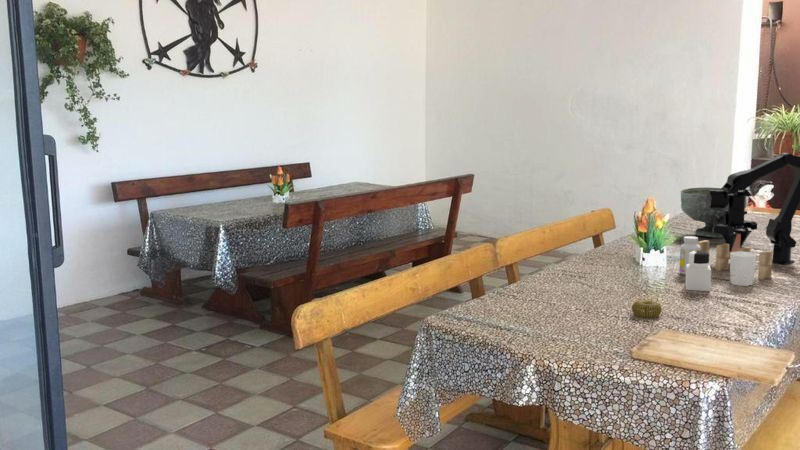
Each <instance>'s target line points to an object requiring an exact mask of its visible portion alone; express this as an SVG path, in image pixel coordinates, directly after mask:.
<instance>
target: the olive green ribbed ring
mask: <svg viewBox="0 0 800 450" xmlns="http://www.w3.org/2000/svg"><path fill="white" fill-rule="evenodd" d="M631 311H632V313H633V314H634V315H635V316H637V317H639V318H643V319H653V318H657V317H658V316H660V315H661V314H662V306H661V304H660V303H658V302H657V301H654V300H650V299H640V300H637V301H635V302H634V303H633V304H632V305H631Z"/></svg>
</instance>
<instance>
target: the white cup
mask: <svg viewBox="0 0 800 450" xmlns="http://www.w3.org/2000/svg"><path fill="white" fill-rule="evenodd" d="M757 256H758V255H757V253H754V252H751V251H750V252H731V253H730V259H729V275H730V277H729V279H730V280H729V281H730V284H732V285H734V286H738V287H739V286H740V287H750V286H749V285H751V286H753V285H754V280H755V279H754V277H755V273H756V266H757V265H756V264H757Z"/></svg>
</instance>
